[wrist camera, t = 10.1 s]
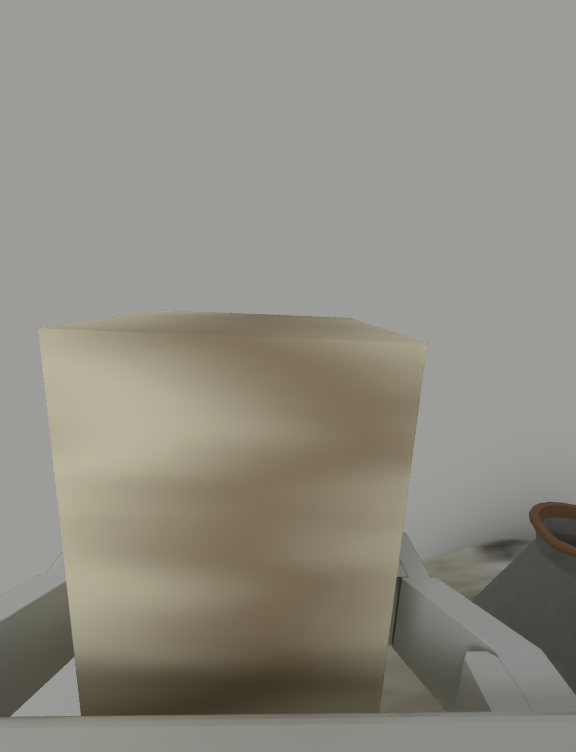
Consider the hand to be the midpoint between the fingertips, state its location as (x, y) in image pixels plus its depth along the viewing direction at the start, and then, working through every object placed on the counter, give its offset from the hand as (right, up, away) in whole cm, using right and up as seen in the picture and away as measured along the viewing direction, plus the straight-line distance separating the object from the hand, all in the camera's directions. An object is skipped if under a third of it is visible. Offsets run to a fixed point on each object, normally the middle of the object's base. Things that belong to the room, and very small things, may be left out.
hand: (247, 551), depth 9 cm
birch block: (0, -7, +1) cm, 7 cm away
